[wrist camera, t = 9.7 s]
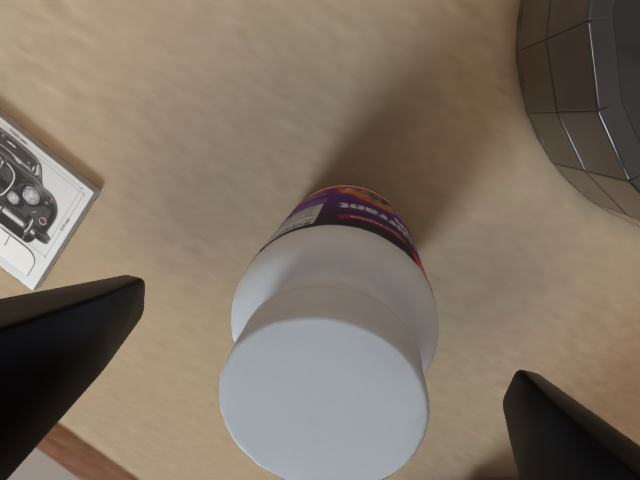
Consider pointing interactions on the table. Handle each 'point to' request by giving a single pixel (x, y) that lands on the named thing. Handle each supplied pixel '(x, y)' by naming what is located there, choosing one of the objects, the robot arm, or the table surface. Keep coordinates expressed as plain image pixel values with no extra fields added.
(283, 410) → the pill bottle
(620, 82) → the pan
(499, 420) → the table surface
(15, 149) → the white product box
